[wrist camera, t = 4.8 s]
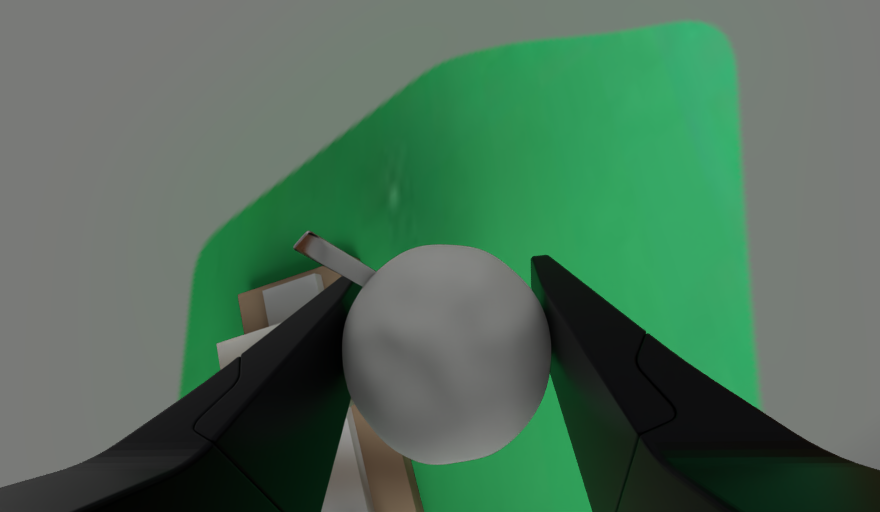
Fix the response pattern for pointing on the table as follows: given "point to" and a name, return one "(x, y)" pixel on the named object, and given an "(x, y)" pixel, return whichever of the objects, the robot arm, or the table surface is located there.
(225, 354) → the wooden board with pads
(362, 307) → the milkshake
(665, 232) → the table surface
